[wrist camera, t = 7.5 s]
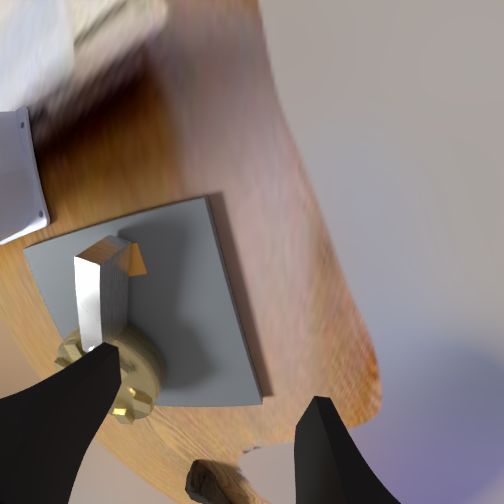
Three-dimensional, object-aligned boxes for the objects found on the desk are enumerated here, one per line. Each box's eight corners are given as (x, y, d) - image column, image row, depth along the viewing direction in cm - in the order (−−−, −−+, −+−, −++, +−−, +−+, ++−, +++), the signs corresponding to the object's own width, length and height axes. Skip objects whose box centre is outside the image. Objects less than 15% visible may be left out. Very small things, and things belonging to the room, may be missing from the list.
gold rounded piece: (164, 404, 21) (149, 440, 17) (82, 371, 21) (62, 401, 17) (181, 255, 16) (155, 288, 12) (70, 222, 16) (29, 243, 12)
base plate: (29, 245, 18) (22, 249, 17) (207, 195, 16) (203, 198, 15) (104, 394, 24) (100, 400, 23) (262, 397, 21) (262, 405, 20)
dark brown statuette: (239, 505, 33) (236, 527, 29) (215, 503, 34) (211, 525, 29) (218, 459, 27) (212, 491, 22) (185, 455, 27) (177, 486, 23)
